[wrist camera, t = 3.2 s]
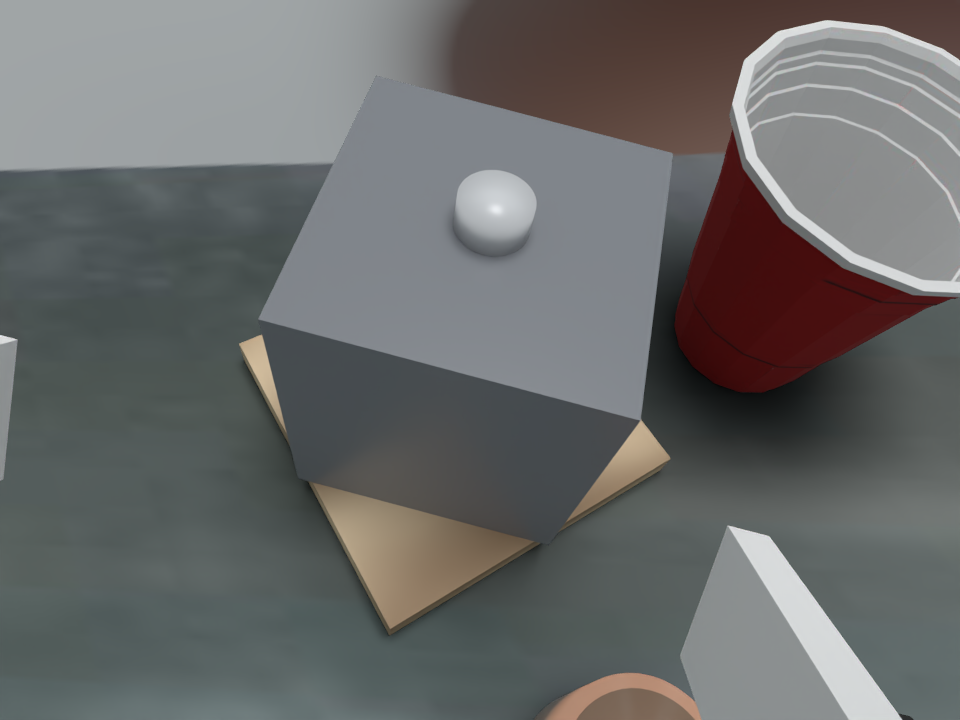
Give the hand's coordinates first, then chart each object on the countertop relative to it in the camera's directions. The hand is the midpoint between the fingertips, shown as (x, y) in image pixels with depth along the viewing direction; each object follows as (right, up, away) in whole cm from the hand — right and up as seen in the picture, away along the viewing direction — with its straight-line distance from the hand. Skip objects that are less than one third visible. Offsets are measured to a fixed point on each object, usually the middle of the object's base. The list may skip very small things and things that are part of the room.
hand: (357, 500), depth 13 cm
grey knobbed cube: (+1, +1, +14) cm, 14 cm away
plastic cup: (+14, +3, +19) cm, 24 cm away
